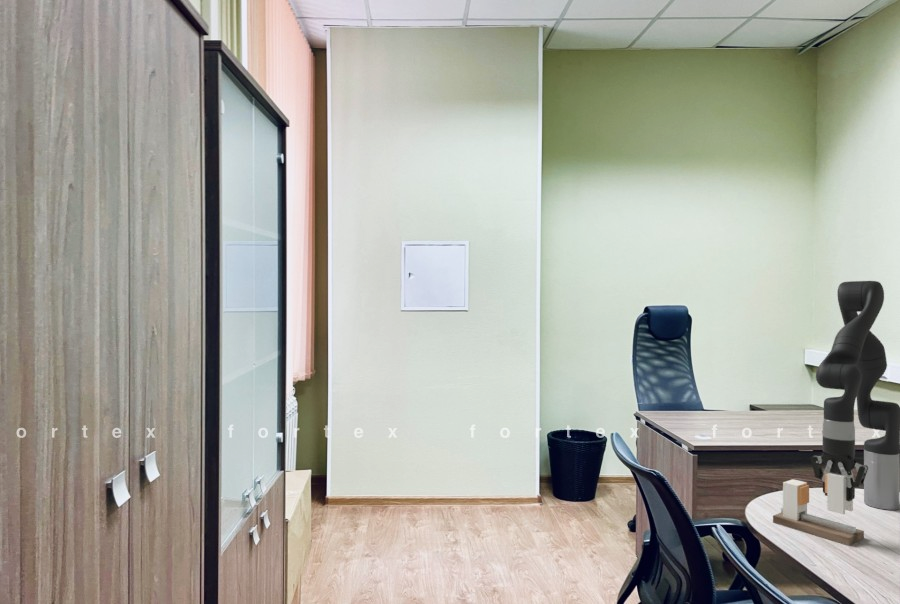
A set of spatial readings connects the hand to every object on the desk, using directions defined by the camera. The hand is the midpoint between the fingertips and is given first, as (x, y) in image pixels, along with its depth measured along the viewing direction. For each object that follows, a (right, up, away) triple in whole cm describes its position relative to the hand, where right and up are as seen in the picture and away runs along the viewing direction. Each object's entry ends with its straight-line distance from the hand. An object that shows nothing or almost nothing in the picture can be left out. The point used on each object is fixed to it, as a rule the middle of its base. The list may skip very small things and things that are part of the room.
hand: (838, 497), depth 164 cm
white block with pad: (0, -3, 0) cm, 3 cm away
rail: (-3, -11, +5) cm, 12 cm away
